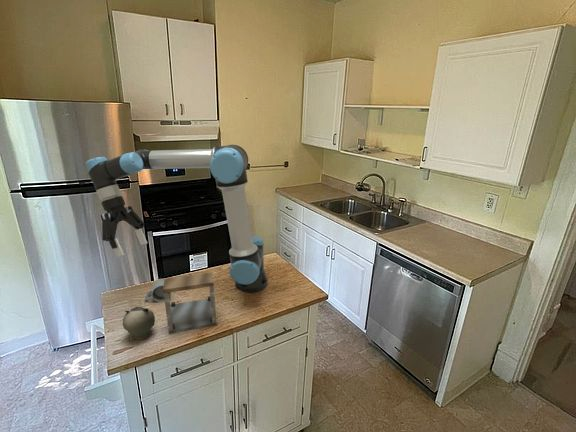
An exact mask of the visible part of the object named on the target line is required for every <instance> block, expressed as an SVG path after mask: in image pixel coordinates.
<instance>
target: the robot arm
mask: <svg viewBox="0 0 576 432" xmlns="http://www.w3.org/2000/svg"><path fill="white" fill-rule="evenodd" d="M248 164H249V156H248V153H247V151H246V150H245V149H244V148H243V147H242V146H240V145H237V144H228V145H219V146H218V145H216V146H214V147H213V148H207V149H206V148H202V149H201V148H200V149H163V150H148V149H138V150H136V151H132V152H131V151H130V152H127V153H124V154H122V155H118V156H116V157H113V158H111V159H107V158H106V157H105V156H99V157H94V158H91V159H88V160H87V161H85V167H86V170H87V175H88V176H89V177H90V180H91V182H92V184H93V186H94V189H95V192H96V194H97V197H98V198H99V200H100V201H101V203H100V204H101V206H102V208H103V211H105V213H103V214H100V218H101V224H102V225H101V228H102V229H101V230H102V231H101V232H102V238H101V239H102V241H103V242H109V245H110V246H111V249H113V251H114V253H115V256H116V257H117V258H118V257H122V256H124V255H125V254H124V251H123V249H122V246H121V245H120V242H119V238H116V235H117V234H116V233H117V229H118V224H119V222H122V221H124V222H126V223H128V225H130V226H131V227H133V228H134V229H135V230H134V231H135V234H136V236H137V239H138V240H139V241H138V242H139V244H140V246H143V245H146V244H148V241H147V239H146V236H145V232H144V229H143V228H145V225H146V223H145V222H144V221H143V220H142V219H141V218H140V216H139V215H138V214H137V213H136V212H135V211H134V209H133V207H132V206H131V205H128V206H126V203H125V198H123V196H122V192H121V190H120V187H119V184H118V183H117V181H116V180H119V179H122V178H124V177H128V176H132V175H135V174H137V173H140V172H141V171H142V170H143V171H144V170H168V169H169V170H172V169H179V170H180V169H209V170H210V173H211V175H212V177H213V178H214V179H215V183H216V187H217V188H218V189H219V190H220V191H221V194H222V198H223V199H222V200H223V204H224V211H225V216H226V221H227V226H228V232H229V237H230V243H231V244H230V246H231V247H230V249H229V250H228V255H229V261H230V266H229V276H230V278H231V279H232V281H233V282H234V285H235V288H236V289H237V290H239V291H240V292H244V293H256V292H259V291H262V290H264V289H265V288H267V286H268V284H269V282H268V280H269V279H268V276H267V273H266V270H265V264H264V263H265V262H264V257H265V256H264V246H265V244H264V239H263V238H262V237H260V236H255V235H253V233H252V228H251V227H252V226H251V220H250V216H249V215H250V214H249V207H248V201H247V194H246V189H245V186H247V184H248V183H249V181H248V175H247V167H248ZM125 206H126V207H125Z"/></svg>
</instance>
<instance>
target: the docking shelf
mask: <svg viewBox="0 0 576 432" xmlns="http://www.w3.org/2000/svg"><path fill="white" fill-rule="evenodd" d="M163 279H164V286H163V292H164V300H165V301H164V306H165V313H166V321H167V327H168V329H167V330H168V334H175V333H181V332H186V331H191V330H196V329H198V330H199V329H203V328H208V327H213V326H217V324H218V323H217V312H216V311H217V310H216V299H215V284H214V278H213V272H205V273H198V274H191V275H184V276H182V275H181V276H176V277H175V276H174V277H169V278H163ZM202 288H209V296H207V298H204V299H203V298H202V299H197V300H196V299H195V300H191V301H190V300H189V301H184V302H177V303H176V301H170V297H169V293H170V292H171V293H174V292H175V293H176V292H182V291H190V290H196V289H202Z"/></svg>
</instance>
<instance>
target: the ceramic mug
mask: <svg viewBox="0 0 576 432" xmlns="http://www.w3.org/2000/svg"><path fill="white" fill-rule="evenodd" d="M164 279H165V278H158V279H156V280H155V281H154V282H153V283H152V287H151V290H150V291H148V292H147V293H146V294H145V296H144V300H145V301H146V302H150V301H152V300H154V301H155V302H157V303H162V302H165V300H164V292H163V286H164ZM171 296H172V292H170V293H169V298H170V297H171Z"/></svg>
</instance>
